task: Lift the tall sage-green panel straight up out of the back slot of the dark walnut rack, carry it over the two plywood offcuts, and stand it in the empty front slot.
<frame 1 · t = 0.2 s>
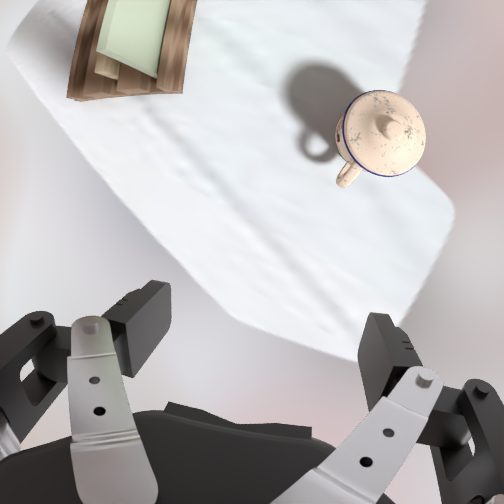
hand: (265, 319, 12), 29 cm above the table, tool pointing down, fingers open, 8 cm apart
rack: (135, 36, 35), on the table
panel: (167, 27, 33), point 1 cm above the table, touching rack
teacup with lid: (361, 146, 36), on the table
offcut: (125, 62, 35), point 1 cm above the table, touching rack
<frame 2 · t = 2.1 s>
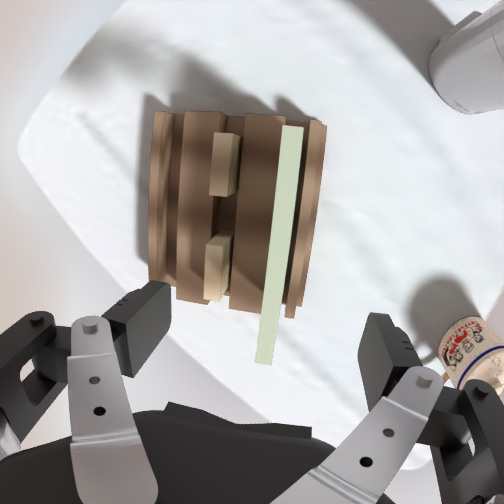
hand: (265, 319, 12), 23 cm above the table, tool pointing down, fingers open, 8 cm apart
rack: (233, 207, 34), on the table
panel: (287, 217, 32), point 1 cm above the table, touching rack
teacup with lid: (455, 348, 35), on the table
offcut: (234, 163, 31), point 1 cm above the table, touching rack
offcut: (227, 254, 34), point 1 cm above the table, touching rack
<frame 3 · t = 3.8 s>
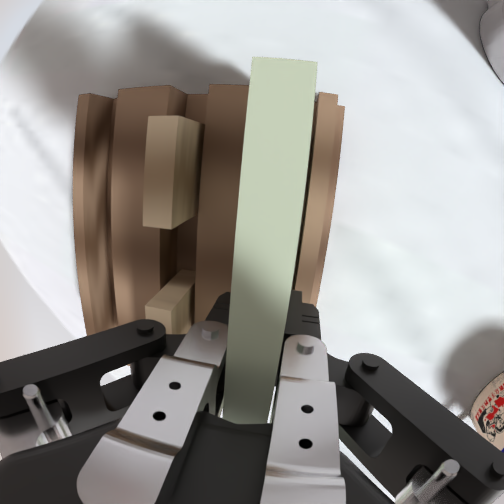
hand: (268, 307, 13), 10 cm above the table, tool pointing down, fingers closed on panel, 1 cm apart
rack: (199, 235, 23), on the table
panel: (280, 252, 20), point 2 cm above the table, touching gripper
teacup with lid: (490, 403, 24), on the table
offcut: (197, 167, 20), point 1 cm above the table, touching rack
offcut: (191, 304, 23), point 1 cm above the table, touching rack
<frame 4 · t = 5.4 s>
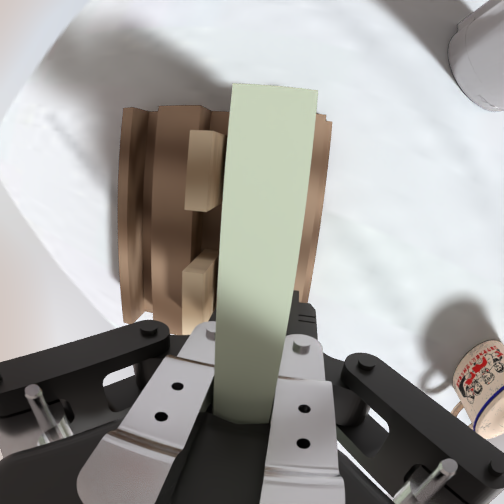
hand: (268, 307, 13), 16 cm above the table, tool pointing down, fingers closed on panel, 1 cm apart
rack: (219, 222, 29), on the table
panel: (278, 263, 20), point 9 cm above the table, touching gripper
teacup with lid: (470, 374, 30), on the table
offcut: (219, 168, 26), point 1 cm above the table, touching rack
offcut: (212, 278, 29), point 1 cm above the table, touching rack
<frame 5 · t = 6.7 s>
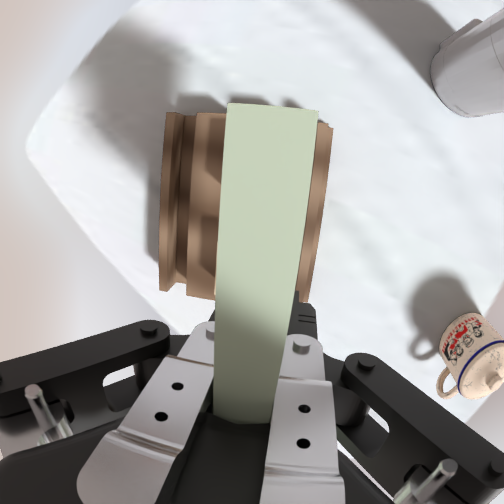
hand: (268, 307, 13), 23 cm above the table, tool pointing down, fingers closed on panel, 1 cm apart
rack: (242, 206, 35), on the table
panel: (279, 261, 20), point 16 cm above the table, touching gripper
teacup with lid: (455, 344, 36), on the table
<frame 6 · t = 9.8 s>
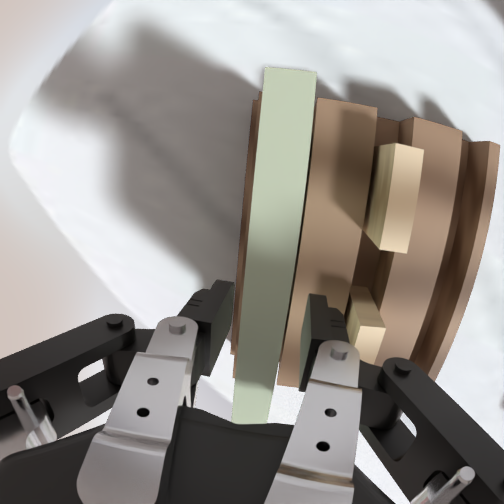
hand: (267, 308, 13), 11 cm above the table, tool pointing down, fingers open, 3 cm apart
rack: (359, 251, 23), on the table
panel: (283, 242, 22), point 1 cm above the table, touching rack
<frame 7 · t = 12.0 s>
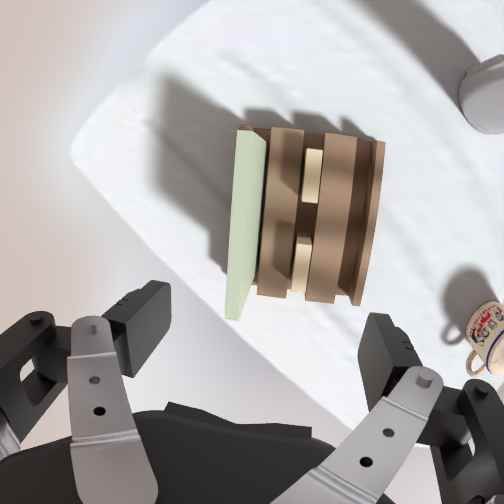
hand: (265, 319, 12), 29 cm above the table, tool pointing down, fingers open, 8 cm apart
rack: (304, 212, 39), on the table
panel: (257, 207, 38), point 1 cm above the table, touching rack
teacup with lid: (479, 329, 40), on the table
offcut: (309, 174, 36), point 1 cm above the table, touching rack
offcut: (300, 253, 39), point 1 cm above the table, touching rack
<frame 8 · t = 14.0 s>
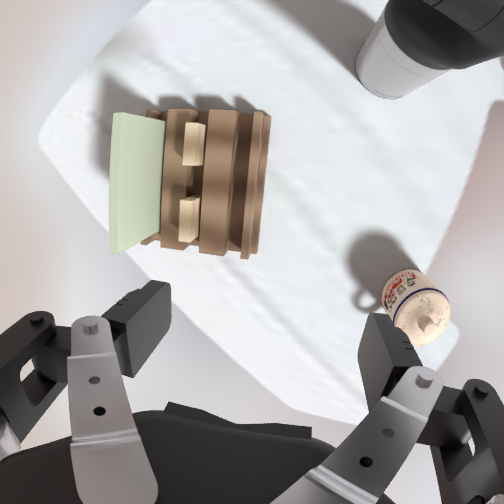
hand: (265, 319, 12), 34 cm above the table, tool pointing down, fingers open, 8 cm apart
rack: (204, 179, 45), on the table
panel: (164, 175, 44), point 1 cm above the table, touching rack
teacup with lid: (399, 299, 46), on the table
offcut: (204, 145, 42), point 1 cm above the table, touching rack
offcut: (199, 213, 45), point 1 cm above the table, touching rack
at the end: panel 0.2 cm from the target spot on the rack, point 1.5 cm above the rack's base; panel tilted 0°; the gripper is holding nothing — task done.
